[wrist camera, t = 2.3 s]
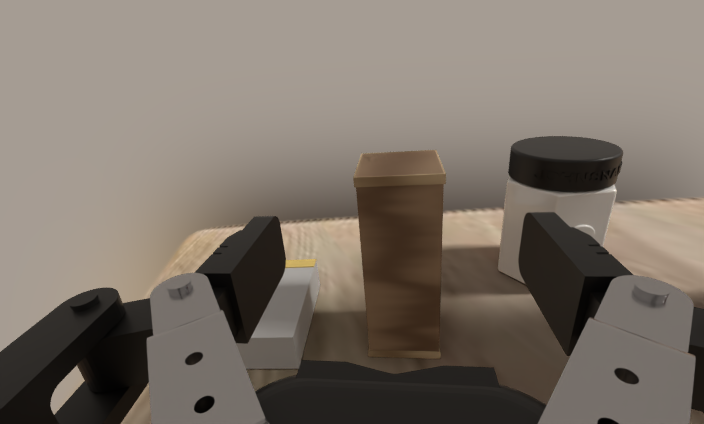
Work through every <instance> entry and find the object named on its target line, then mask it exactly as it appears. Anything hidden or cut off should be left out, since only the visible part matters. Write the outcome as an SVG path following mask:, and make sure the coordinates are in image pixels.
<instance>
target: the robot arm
mask: <svg viewBox="0 0 704 424" xmlns="http://www.w3.org/2000/svg"><path fill="white" fill-rule="evenodd" d="M518 264H519V271H520V274H521V276H522V278H523V280H524V282H525V284H526V285H527V287H528V289H529V291H530V292H531V294H532V296H533V298H534V299H535V301H536V303H537V305H538V306H539V308H540V310H541V312H542V313H543V315H544V317H545V319H546V320H547V322H548V324H549V326H550V327H551V329H552V331H553V332H554V334H555V336H556V338H557V339H558V341H559V343H560V345H561V346H562V348H563V350H564V352H565V353H566V355H567V356H570V358H569V360H568V362H567V364H566V366H565V368H564V370H563V373H562V375H561V377H560V379H559V381H558V383H557V385H556V387H555V389H554V391H553V393H552V395H551V397H550V399H549V401H548V404H547V405H545V404H544V403H542V402H540V401H538V400H537V399H535V398H533V397H531V396H529V395H527V394H525V393H522V392H520V391H518V390H515V389H512V388H509V387H507V386H503V385H499V383H498V380H497V377H496V373H495V370H494V368H488V367H462V366H440V367H434V368H428V369H423V370H417V371H411V372H406V373H400V374H391V373H386V372H382V371H379V370H375V369H371V368H367V367H364V366H360V365H356V364H352V363H348V362H335V361H310V360H301V363H300V366H299V370H298V373H297V375H296V376H291V377H287V378H284V379H280V380H278V381H275V382H273V383H270V384H268V385H266V386H264V387H262V388H260V389H259V390H257V391H254V388H253V386H252V383H251V381H250V378H249V375H248V373H247V370H246V368H245V365H244V363H243V360H242V358H241V355H240V353H239V350H238V348H237V345H236V343H242V344H248V342H249V340H250V338H251V337H252V335H253V333H254V331H255V329H256V327H257V325H258V323H259V321H260V319H261V317H262V315H263V313H264V311H265V309H266V308H267V306H268V304H269V302H270V300H271V298H272V296H273V294H274V292H275V290H276V288H277V286H278V284H279V282H280V280H281V279H282V277H283V275H284V272H285V267H286V257H285V250H284V245H283V239H282V233H281V227H280V222H279V219H278V218H277V217H276V216H265V217H264V216H262V217H254V218H253V219H252V220H251V221H250V222H249V223H248V224H247V225H246V226H245V228H244V229H243V230H240V231H238V232H236V233H235V234H233V235H231V236H229V237H228V238H227V239H226V240H225V241H224V242H223V243H222V244H221V245H220V248H217V249H216V250H215V251H214V252H213V255H211V256H210V257H209V258H208V259H207V260H206V261H205V262H204V263H203V264H202V265H201V266H200V267H199V268H198V270H197V271H196V272H195V273H187V274H182V275H178V276H175V277H172V278H170V279H168V280H166V281H164V282H162V283H161V284H159V285H158V286H157V287H156V288H155V289H154V290H153V291H152V292H151V295H150V298H149V299H143V300H138V301H132V302H127V303H122V301H121V298H120V296H119V293H118V291H117V290H116V289H113V288H98V289H93V290H90V291H87V292H83V293H81V294H78V295H76V296H74V297H72V298H70V299H68V300H67V301H65V302H63V303H62V304H61V305H59V306H58V307H57V308H55V309H54V310H53V311H52V312H51V313H49V314H48V315H47V316H45V317H44V318H43V319H42V320H40V321H39V322H38V323H36V324H35V325H34V326H33V327H31V328H30V329H29V330H28V331H26V332H25V333H24V334H23V335H21V336H20V337H19V338H17V339H16V340H15V341H14V342H12V343H11V344H10V345H9V346H7V347H6V348H5V349H4V350H2V351H1V352H0V424H120V423H121V422H122V421H123V419H124V418H125V416H126V415H127V413H128V412H129V410H130V409H131V408H132V406H133V405H134V403H135V402H136V400H137V399H138V397H139V396H140V395H141V393H142V392H143V390H144V389H145V387H146V386H147V384H148V383H149V391H150V408H151V424H690V413H691V409H695V410H698V411H702V412H703V413H704V309H701V308H696V307H694V305H693V302H692V300H691V299H690V297H689V296H688V295H686V294H685V293H684V292H682V291H681V290H680V289H678V288H676V287H674V286H672V285H670V284H668V283H665V282H662V281H659V280H656V279H653V278H649V277H643V276H636V275H633V274H632V273H631V272H630V271H629V270H627V269H626V268H625V267H624V266H623V265H622V264H621V263H620V262H619V261H618V260H617V259H615V258H614V257H613V256H612V255H611V254H609V252H608V251H607V250H606V249H605V248H603V247H602V246H600V244H599V243H598V242H597V241H596V240H595V239H594V238H593V237H591V236H590V235H589V234H587V233H585V232H583V231H581V230H578V229H576V228H574V227H569V226H568V225H567V224H566V223H565V222H564V221H563V220H562V219H561V218H560V217H559V216H558V215H557V214H556V213H555V212H528V213H526V215H525V217H524V221H523V228H522V235H521V242H520V250H519V258H518ZM76 365H77V366H78V368H79V370H80V372H81V374H82V376H83V378H84V380H85V381H84V382H83V383H82V385H81V386H80V387H79V388H78V389H77V390H76V391H75V392H74V394H73V395H72V396H71V397H70V398H69V399H68V400H67V401H66V402H65V404H64V405H63V406H62V407H61V408H60V409H59V410H58V411H57V413H56V414H55V415H54V414H53V412H52V410H51V407H50V402H51V397H52V394H53V392H54V390H55V388H56V387H57V385H58V384H59V383H60V382H61V381H62V380H63V379H64V378H65V377H66V376H67V375H68V373H70V372H71V370H72V369H73V368H74V367H75V366H76Z"/></svg>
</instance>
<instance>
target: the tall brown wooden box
mask: <svg viewBox="0 0 704 424" xmlns="http://www.w3.org/2000/svg"><path fill="white" fill-rule="evenodd" d="M443 184H446V173H445V170H444V168H443V166H442V163H441V161H440V158H439V156H438V153H437V151H436V150H425V151H405V152H387V153H386V152H385V153H365V154H361V156H360V159H359V163H358V165H357V168H356V171H355V175H354V187H356V192H357V203H358V216H359V228H360V241H361V253H362V265H363V277H364V289H365V301H366V314H367V326H368V338H369V345H368V356H369V357H395V358H428V359H440V354H441V352H440V346H439V332H440V295H441V258H442V221H443Z"/></svg>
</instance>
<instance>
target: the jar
mask: <svg viewBox="0 0 704 424" xmlns="http://www.w3.org/2000/svg"><path fill="white" fill-rule="evenodd" d="M622 156H623V150H622V149H621V148H620V147H619V146H617V145H615V144H612V143H609V142H605V141H601V140H596V139H590V138H582V137H567V136H548V137H535V138H528V139H524V140H521V141H518V142H516V143H514V144H513V145H512V146H511V153H510V162H509V171H508V173H509V178H508V181H507V187H506V196H505V205H504V215H503V224H502V233H501V243H500V252H499V262H498V270H499V271H500V272H502V273H504V274H506V275H508V276H510V277H512V278H514V279H516V280H518V281H520V282H522V283H524V284H525V282H524V280H523V278H522V276H521V274H520V271H519V264H518V258H519V250H520V242H521V235H522V228H523V221H524V217H525V215H526V213H528V212H555V213H556V214H557V215H558V216H559V217H560V218H561V219H562V220H563V221H564V222H565V223H566V224H567V225H568V226H569V227H574V228H576V229H578V230H581V231H583V232H585V233H587V234H589V235H590V236H591V237H593V238H594V239H595V240H596V241H597V242H598V243H599V244H600V246H602V247H603V246H604V241H605V237H606V233H607V229H608V225H609V221H610V217H611V213H612V209H613V205H614V201H615V197H616V192H617V191H616V187H615V183H616V181H617V176H618V174H619V173H620V169H621V165H622V161H621V160H622Z"/></svg>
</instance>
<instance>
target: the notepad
mask: <svg viewBox="0 0 704 424" xmlns="http://www.w3.org/2000/svg"><path fill="white" fill-rule="evenodd" d="M319 288H320V280H319V274H318V267H317V260H316V259H307V260H286V267H285V272H284V275H283V277H282V279H281V280H280V282H279V284H278V286H277V288H276V290H275V292H274V294H273V296H272V298H271V300H270V302H269V304H268V306H267V308H266V309H265V311H264V313H263V315H262V317H261V319H260V321H259V323H258V325H257V327H256V329H255V331H254V333H253V335H252V337H251V338H250V340H249V342H248V344H242V343H236V345H237V348H238V350H239V353H240V355H241V358H242V360H243V363H244V365H245V368H246V369H299V366H300V363H301V359H302V356H303V352H304V348H305V344H306V340H307V336H308V332H309V328H310V324H311V320H312V316H313V312H314V308H315V304H316V300H317V296H318V292H319Z"/></svg>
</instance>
